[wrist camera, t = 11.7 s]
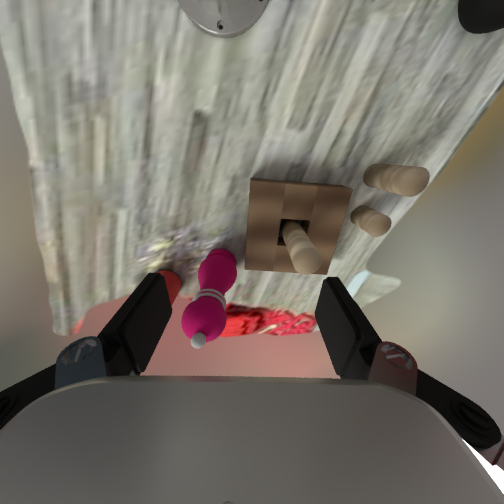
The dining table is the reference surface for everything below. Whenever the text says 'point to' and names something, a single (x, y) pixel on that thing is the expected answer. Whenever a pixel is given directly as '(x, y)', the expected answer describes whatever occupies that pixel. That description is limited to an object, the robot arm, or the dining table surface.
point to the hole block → (292, 207)
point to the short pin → (371, 221)
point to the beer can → (171, 284)
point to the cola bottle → (481, 15)
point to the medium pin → (397, 178)
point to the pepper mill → (210, 298)
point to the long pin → (300, 247)
